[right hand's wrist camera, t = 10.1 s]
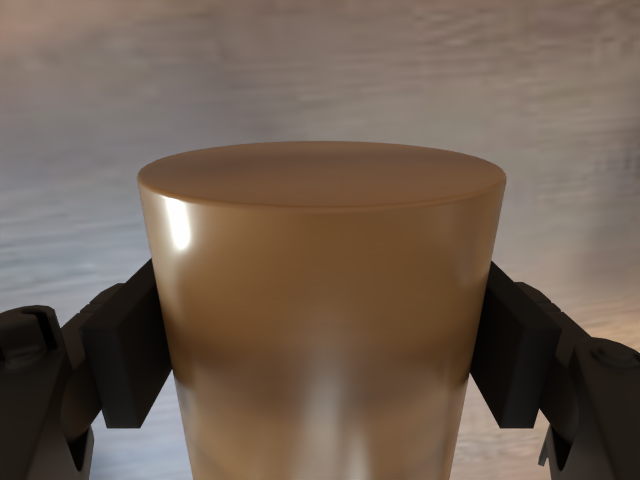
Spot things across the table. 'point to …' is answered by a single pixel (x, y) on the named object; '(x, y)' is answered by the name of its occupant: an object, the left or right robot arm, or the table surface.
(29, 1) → the table surface
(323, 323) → the rod
